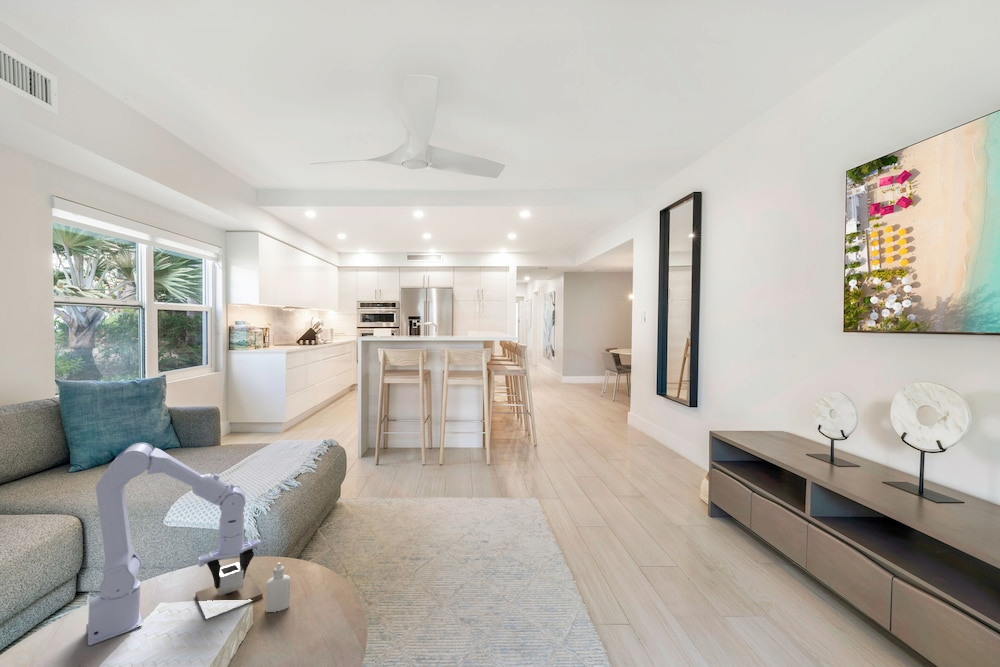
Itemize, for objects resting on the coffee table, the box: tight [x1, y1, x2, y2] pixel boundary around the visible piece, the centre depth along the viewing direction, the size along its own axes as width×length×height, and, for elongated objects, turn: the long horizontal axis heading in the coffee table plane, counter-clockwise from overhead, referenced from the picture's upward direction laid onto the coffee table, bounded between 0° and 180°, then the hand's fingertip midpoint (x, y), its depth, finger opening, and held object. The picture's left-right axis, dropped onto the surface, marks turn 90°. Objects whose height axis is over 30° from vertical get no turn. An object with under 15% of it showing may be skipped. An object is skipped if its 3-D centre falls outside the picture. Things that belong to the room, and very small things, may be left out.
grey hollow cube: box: [216, 561, 244, 596], centre depth 114 cm, size 5×5×5 cm
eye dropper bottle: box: [265, 562, 291, 613], centre depth 109 cm, size 4×6×12 cm
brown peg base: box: [195, 573, 264, 602], centre depth 113 cm, size 13×13×5 cm
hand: (229, 582), depth 113 cm, fingers closed on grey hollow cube, 5 cm apart
